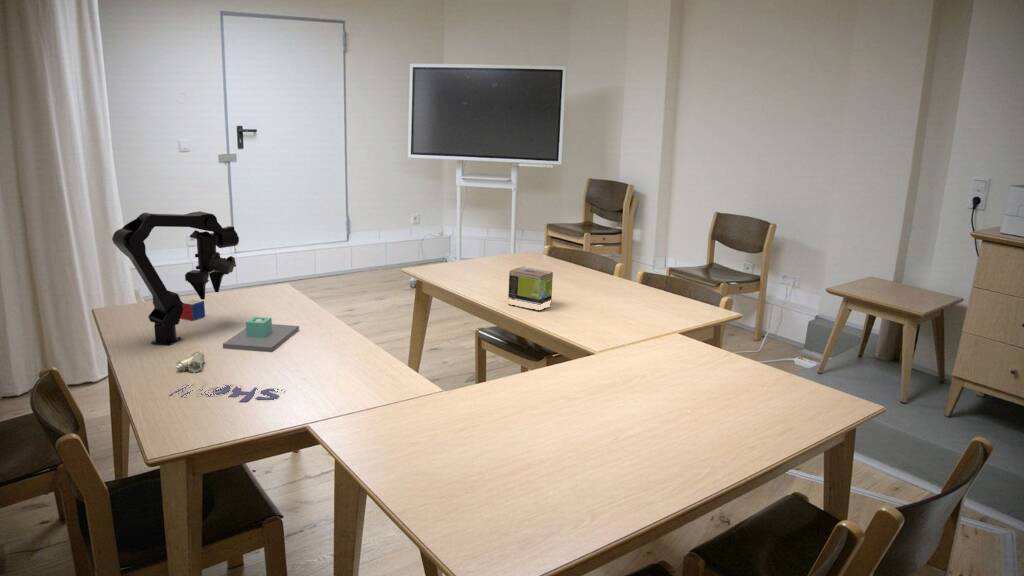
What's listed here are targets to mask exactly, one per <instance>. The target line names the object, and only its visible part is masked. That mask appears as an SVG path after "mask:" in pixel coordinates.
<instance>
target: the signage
mask: <svg viewBox="0 0 1024 576" xmlns="http://www.w3.org/2000/svg"><path fill="white" fill-rule="evenodd" d="M186 384H187V383H185V384H184V385H186ZM184 385H182V386H181V387H183V386H184ZM224 385H225V386H226V387H224V388H223V387H222V389H223V390H221V388H220V391H217V390H216V389H217V388H213V389H212V390H213V391H214V390H215V391H216V392H213V395H215V394H216V395H220V394H224V395H226V394H228V393H230V392H231V391H232V392H233V393H232V392H231V394H229V395H228V396H227V397H228V398H229V397H237V396H238V397H240V396H239V395H246V396H244V397H243V398H241V399H240V400H239V403H248V402H250V401H251V400H252V399H253V398H254V397H255V398H254V399H257V400H256V401H260V400H274V399H277V398H278V397H279V398H280V395H279V393H278V394H277V392H278V391H277V392H276V393H275V392H269V391H275V390H274V389H275V388H265V389H262V390H261V391H260V392H259V394H260V395H261V394H263V395H262V396H259V395H258V396H254V394H255V391H256V389H257V388H258V387H253V388H252V390H250V391H246V390H245V391H242V390H241V388H238V387H237V386H238V385H236V386H235V387H234V388H233V389H232V386H231V385H232V384H224ZM229 385H230V386H231V387H230V386H229ZM187 386H189V385H187ZM187 386H186V387H187ZM239 386H240V385H239ZM186 387H184V388H185V389H186ZM240 387H242V386H240ZM184 388H182V389H180V390H179V388H178V389H177V390H178V391H176V390H175V391H173V392H174V393H177V392H179V391H181V390H182V391H183V389H184ZM201 389H202V388H201ZM201 389H199V392H200V391H202V390H203V389H202V390H201ZM230 389H232V390H230ZM276 389H277V390H279V389H280V388H276ZM218 390H219V389H218ZM257 390H258V389H257ZM282 390H283V389H282ZM282 390H281V391H282ZM192 391H193V390H192ZM229 391H230V392H229ZM173 392H172V393H170V394H169V395H168V396H172V395H173V394H174V393H173ZM190 392H191V391H190ZM190 392H188V391H187V393H186V392H185V393H184V394H182V395H181V396H180V395H179V396H180V397H183V396H184V395H186V394H188V393H189V394H190ZM205 392H206V391H205ZM205 392H204V393H205ZM227 392H228V393H227ZM208 393H209V392H208ZM214 393H215V394H214ZM225 393H226V394H225ZM178 394H179V393H178ZM199 394H200V393H199ZM199 394H197V395H199ZM201 395H203V394H202V393H201ZM205 395H208V394H206V393H205ZM211 395H212V394H210V396H209V395H208V396H207V397H212V396H211ZM265 395H267V396H265ZM186 396H187V395H186ZM220 396H221V395H220ZM253 396H254V397H253ZM268 396H270V397H268ZM180 397H179V398H180ZM238 397H237V398H238ZM252 397H253V398H252ZM251 398H252V399H251ZM279 398H278V399H279ZM250 399H251V400H250ZM278 399H277V400H278ZM274 401H275V400H274Z"/></svg>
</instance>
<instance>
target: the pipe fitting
mask: <svg viewBox="0 0 1024 576" xmlns="http://www.w3.org/2000/svg"><path fill="white" fill-rule="evenodd" d="M203 362H205V353H204V352H201V351H198V350H197V351H195V352H193V353H192V354H191V355H190V356H188V357H186V358H184V359H181V360H178V361H177V363H176V366H175V368H176V369H175V370H177V371H180V370H181V371H180V372H183V371H184V372H186V371H189V372H192V373H194V372H195V373H198V372H199V371H201V370H202V369H203Z"/></svg>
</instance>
